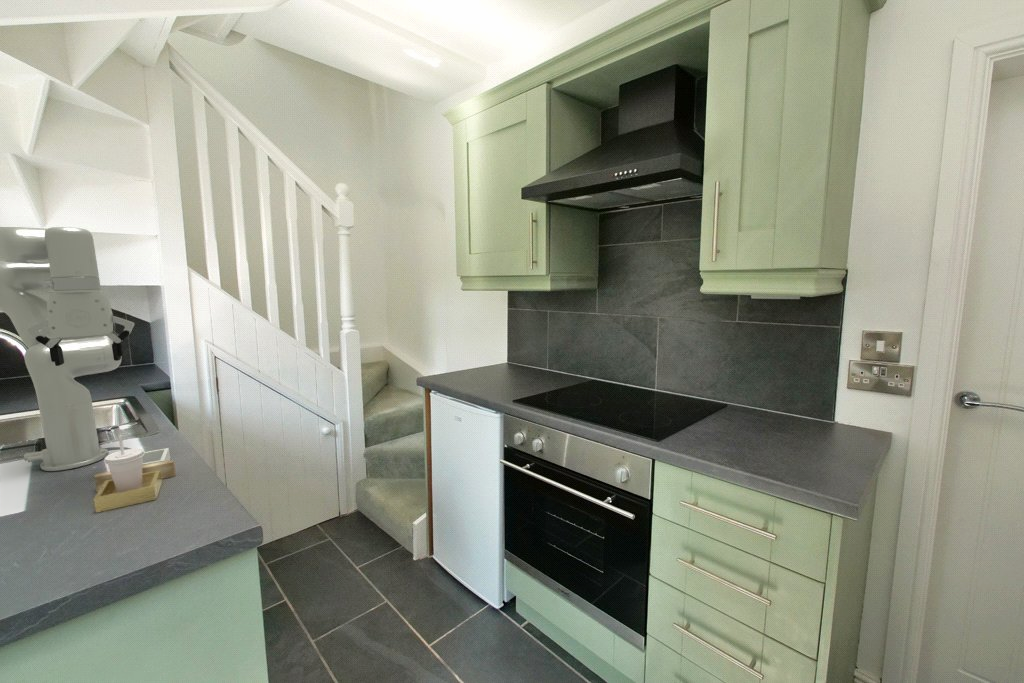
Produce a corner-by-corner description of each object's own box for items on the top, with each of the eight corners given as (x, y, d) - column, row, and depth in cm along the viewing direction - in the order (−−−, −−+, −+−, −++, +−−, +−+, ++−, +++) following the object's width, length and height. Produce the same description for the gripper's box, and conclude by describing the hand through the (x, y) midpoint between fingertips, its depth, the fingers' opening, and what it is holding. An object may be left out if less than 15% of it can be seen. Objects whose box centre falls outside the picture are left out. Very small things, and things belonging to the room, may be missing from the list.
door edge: (96, 492, 98) (94, 477, 98) (98, 488, 100) (96, 473, 99) (174, 476, 106) (173, 462, 105) (175, 473, 107) (174, 459, 107)
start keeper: (113, 482, 103) (111, 470, 103) (122, 467, 111) (120, 456, 111) (165, 472, 108) (163, 460, 108) (170, 458, 116) (168, 447, 116)
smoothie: (104, 505, 92) (93, 441, 90) (121, 491, 98) (112, 431, 96) (140, 501, 94) (131, 438, 92) (155, 487, 100) (147, 428, 98)
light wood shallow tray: (95, 512, 90) (93, 498, 89) (107, 493, 98) (105, 480, 97) (156, 499, 95) (154, 486, 94) (162, 482, 103) (160, 469, 102)
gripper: (13, 287, 89) (28, 370, 92) (125, 284, 98) (136, 360, 101) (27, 286, 96) (41, 364, 98) (131, 284, 105) (141, 355, 107)
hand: (89, 362), depth 100 cm, fingers open, 9 cm apart
